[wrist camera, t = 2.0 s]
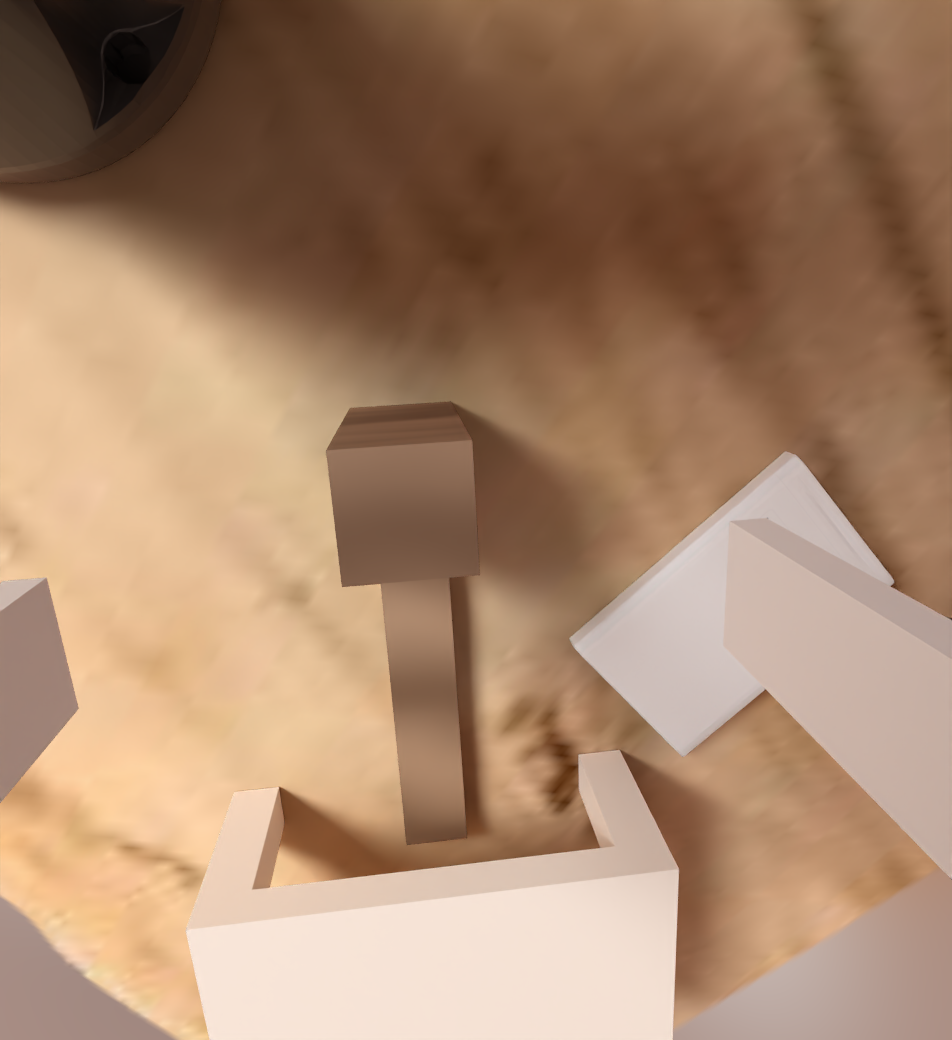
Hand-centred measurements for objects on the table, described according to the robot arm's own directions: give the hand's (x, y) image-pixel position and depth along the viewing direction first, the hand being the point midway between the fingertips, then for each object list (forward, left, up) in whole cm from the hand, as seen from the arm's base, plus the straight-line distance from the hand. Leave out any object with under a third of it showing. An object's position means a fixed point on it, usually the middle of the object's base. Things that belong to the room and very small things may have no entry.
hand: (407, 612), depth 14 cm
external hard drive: (+8, +14, -16) cm, 23 cm away
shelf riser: (+21, 0, -15) cm, 26 cm away
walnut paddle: (+8, 0, -15) cm, 17 cm away
